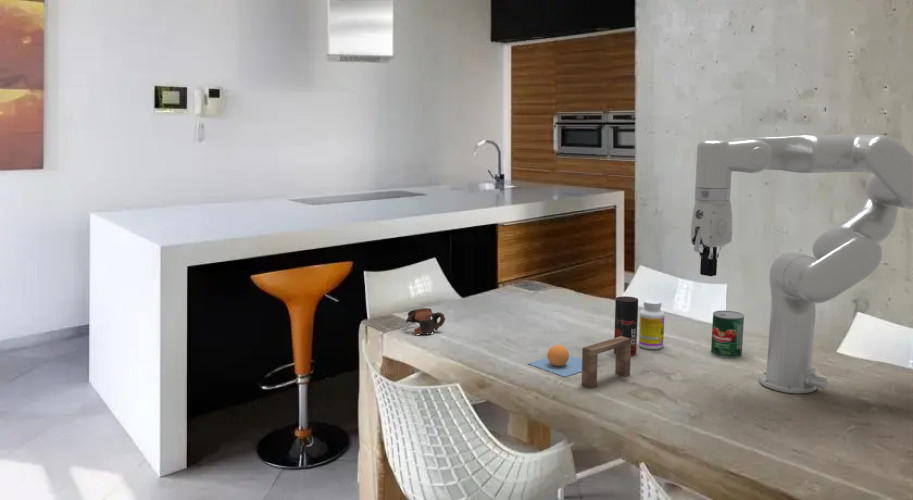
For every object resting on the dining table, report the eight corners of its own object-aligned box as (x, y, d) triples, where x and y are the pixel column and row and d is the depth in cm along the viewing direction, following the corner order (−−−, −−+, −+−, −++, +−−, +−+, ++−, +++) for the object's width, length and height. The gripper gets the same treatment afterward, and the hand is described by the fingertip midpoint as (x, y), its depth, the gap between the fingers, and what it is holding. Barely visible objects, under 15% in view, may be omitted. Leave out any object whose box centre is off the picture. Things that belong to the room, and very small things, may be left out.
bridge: (629, 374, 182) (631, 338, 181) (591, 388, 173) (592, 350, 172) (620, 371, 185) (621, 336, 183) (581, 384, 176) (582, 347, 174)
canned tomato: (740, 350, 200) (742, 311, 198) (743, 359, 193) (745, 319, 191) (709, 348, 203) (711, 309, 201) (711, 357, 195) (713, 317, 193)
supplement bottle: (664, 350, 201) (666, 305, 198) (638, 349, 202) (640, 304, 200) (662, 343, 207) (664, 299, 205) (638, 342, 208) (639, 298, 206)
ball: (554, 359, 193) (570, 368, 189) (541, 362, 189) (557, 371, 186) (559, 340, 192) (575, 348, 188) (545, 343, 188) (561, 352, 184)
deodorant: (620, 348, 203) (621, 295, 201) (640, 352, 199) (642, 298, 197) (609, 353, 199) (611, 299, 196) (630, 357, 195) (632, 302, 192)
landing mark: (599, 365, 189) (599, 365, 189) (565, 377, 181) (565, 376, 181) (562, 353, 199) (562, 353, 199) (527, 364, 191) (527, 363, 191)
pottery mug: (405, 338, 216) (401, 311, 218) (414, 343, 225) (410, 317, 227) (444, 329, 214) (439, 302, 217) (452, 334, 223) (447, 308, 225)
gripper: (708, 199, 158) (704, 282, 161) (745, 194, 167) (740, 273, 170) (678, 196, 164) (674, 277, 167) (715, 191, 173) (711, 268, 176)
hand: (708, 275), depth 169 cm, fingers closed
